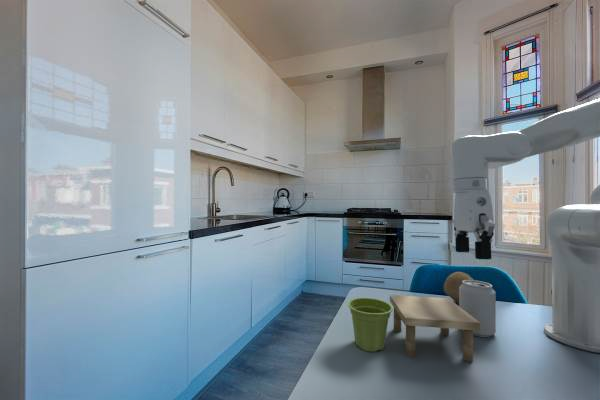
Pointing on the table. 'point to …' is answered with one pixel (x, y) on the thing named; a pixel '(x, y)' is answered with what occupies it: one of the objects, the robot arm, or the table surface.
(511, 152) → the robot arm
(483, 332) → the can
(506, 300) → the table surface
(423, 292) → the table surface
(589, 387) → the table surface
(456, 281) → the natural sponge
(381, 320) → the plant pot
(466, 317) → the stool
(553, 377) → the table surface
